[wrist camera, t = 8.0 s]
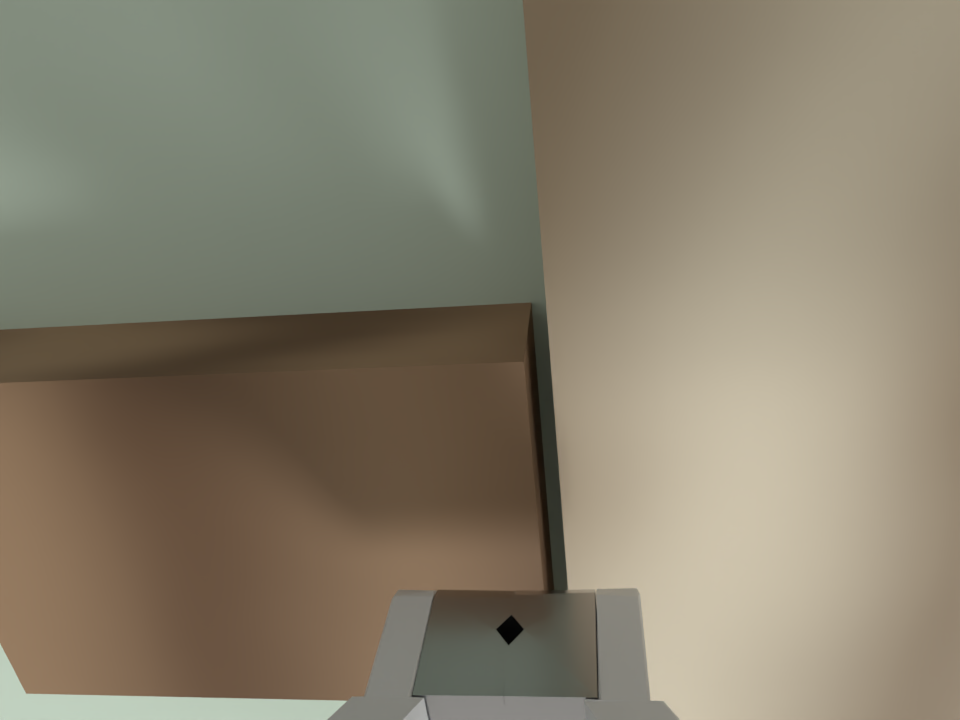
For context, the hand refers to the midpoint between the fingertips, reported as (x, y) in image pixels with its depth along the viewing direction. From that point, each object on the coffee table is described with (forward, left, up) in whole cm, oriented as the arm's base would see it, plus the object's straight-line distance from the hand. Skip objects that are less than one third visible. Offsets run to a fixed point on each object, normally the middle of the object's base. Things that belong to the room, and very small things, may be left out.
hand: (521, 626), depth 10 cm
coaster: (+4, 0, -3) cm, 5 cm away
